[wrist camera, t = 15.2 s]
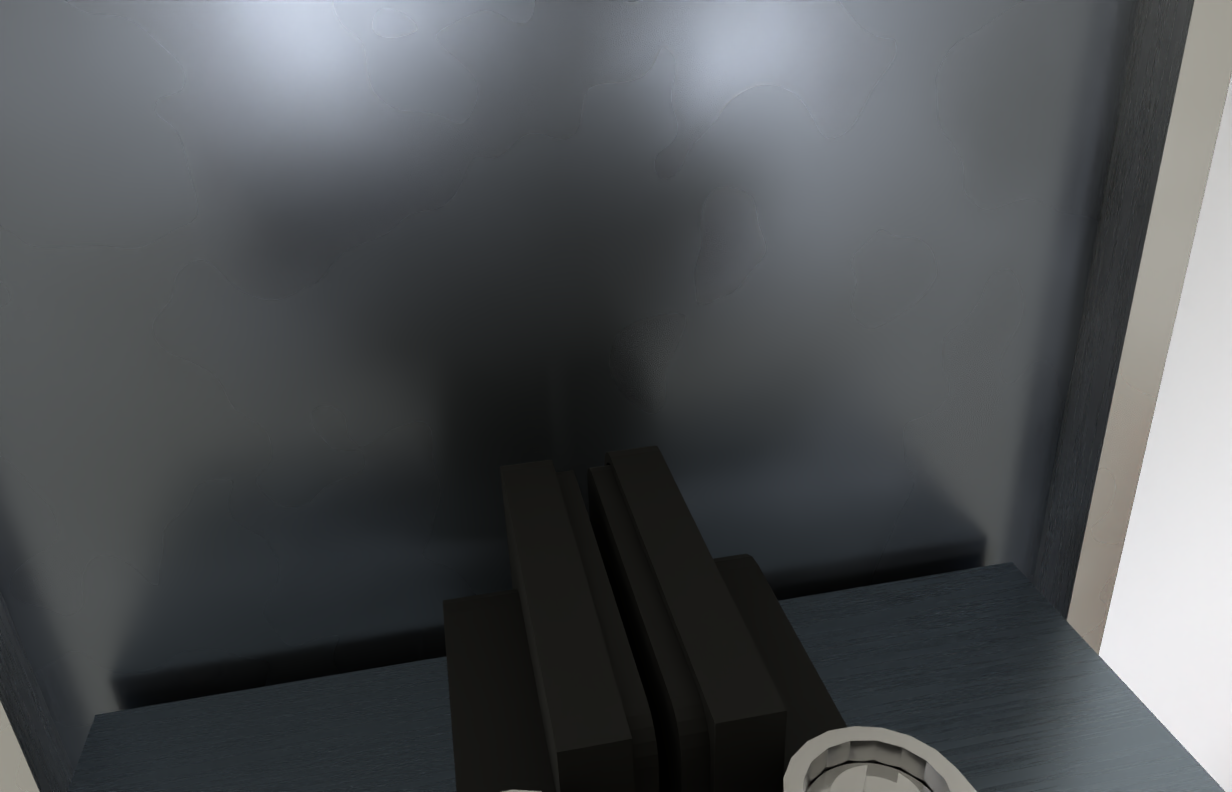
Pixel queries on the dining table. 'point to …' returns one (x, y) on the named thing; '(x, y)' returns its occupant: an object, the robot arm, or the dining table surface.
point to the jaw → (832, 637)
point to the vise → (560, 307)
